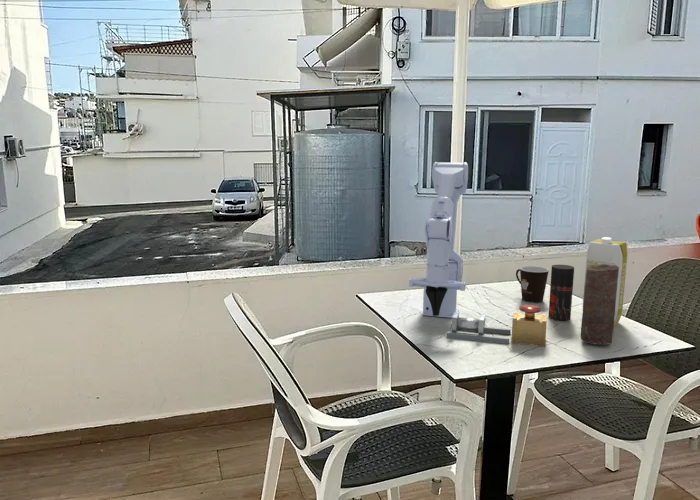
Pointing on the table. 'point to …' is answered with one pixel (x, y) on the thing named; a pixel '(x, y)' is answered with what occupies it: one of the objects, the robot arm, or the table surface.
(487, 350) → the table surface
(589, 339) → the rock core sample
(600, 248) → the juice carton
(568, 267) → the deodorant
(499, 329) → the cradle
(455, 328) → the spool
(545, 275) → the coffee mug
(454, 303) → the robot arm
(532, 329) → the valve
